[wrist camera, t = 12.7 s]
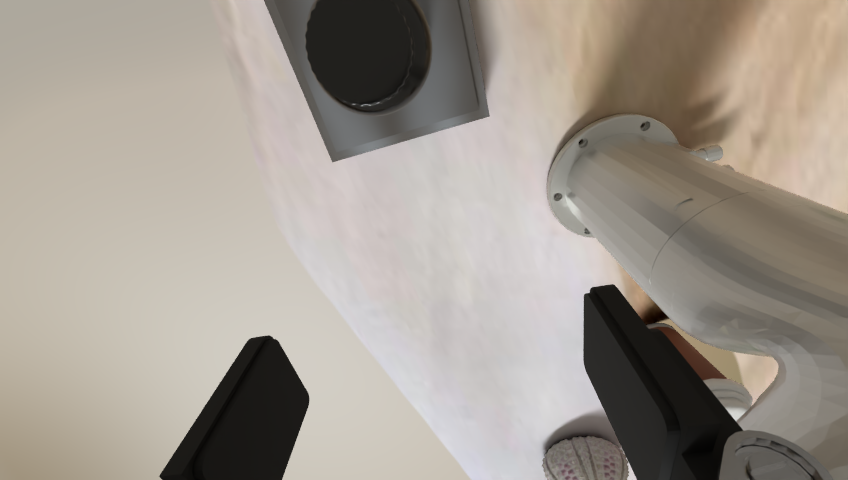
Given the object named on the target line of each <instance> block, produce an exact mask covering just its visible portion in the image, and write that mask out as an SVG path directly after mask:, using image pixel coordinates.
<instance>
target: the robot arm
mask: <svg viewBox="0 0 848 480" xmlns="http://www.w3.org/2000/svg"><path fill="white" fill-rule="evenodd" d="M641 124H642V125H641ZM581 139H582V142H581V143H579V141H580V140H581ZM722 156H723V150H722V148H721V147H720V146H719V145H713V146H709V147H706V148H702V149H700V150H697V151H694V150H692V149H689V148H686V147H683V146H681V145H679V143H678V140H677V138H676V137H675V135H674V134H673V132H672V131H671V130H670V129H669V128H668V127H667V126H666V125H664V124H663V123H661V122H659V121H657V120H655V119H653V118H651V117H647V116H644V115H638V114H618V115H613V116H609V117H606V118H602V119H600V120H598V121H596V122H594V123H592V124H589V125H588V126H586V127H585V128H583V129H582V130H581V131H579V132H578V133H576V134H575V135H574V136H573V137H572V138H571V139H570V140H569V141H568V142H567V143H566V144H565V146H564V147H563V148H562V149H561V151H560V152H559V153H558V155H557V157H556V159H555V161H554V162H553V164H552V167H551V170H550V173H549V176H548V182H547V199H548V202H549V206H550V209H551V210H552V212H553V214H554V216H555V217H556V218H557V219H558V221H559V222H560V223H561V224H562V225H563V226H564V227H565V228H567V229H568V230H570V231H571V232H573V233H575V234H577V235H581V236H584V237H590V238H596V239H597V240H598V241H599V242H600V243H601V244H602V246H603V247H604V248H605V249H606V250H607V251H608V252H609V253H610V254H611V255H612V256H613V257H614V259H615V260H616V261H617V262H618V263H619V264H620V265H621V266H622V267H623V268H624V269H625V271H626V272H627V273H628V274H629V275H630V276H631V277H632V278H633V279H634V280H635V281H636V283H637V284H638V285H639V286H640V287H641V288H642V289H643V290H644V291H645V292H646V293H647V295H648V296H649V297H650V298H651V299H652V300H653V301H654V302H655V303H656V304H657V305H658V306H659V307H660V309H661V310H662V311H663V312H664V313H665V314H666V315H667V316H668V317H669V318H670V319H671V320H672V321H673V322H674V323H675V324H676V325H677V326H678V327H679V328H681V329H682V330H683V331H685V332H686V333H687V334H689V335H690V336H692V337H694V338H696V339H697V340H699V341H701V342H703V343H706V344H708V345H711V346H714V347H717V348H720V349H724V350H728V351H733V352H737V353H744V354H751V355H758V356H767V357H773V358H774V359H775V360H776V361H777V363H778V366H779V368H778V374H777V376H776V378H775V379H774V381H773V382H772V383H771V384H770V386H769V387H768V388H767V389H766V390H765V391H764V392H763V393H762V394H761V395H760V396H759V398H758V399H757V401H756V402H755V403H754V404H753V405H752V406H751V407H750V408H749V409H748V410H747V411H746V412H745V413H744V414H743V415H742V416H741V417H740V418H739V419H738V420H737V421H735V419H734V418H733V417H732V416H731V415H730V413H729V412H728V411H727V410H726V408H725V407H724V406H723V405H722V404H721V402H720V401H719V400H718V399H717V397H716V396H715V395H714V394H713V392H712V391H711V390H710V389H709V388H708V386H707V385H706V384H705V383H704V381H703V380H702V379H701V378H700V376H699V375H698V374H697V373H696V372H695V370H694V369H693V368H692V367H691V365H690V364H689V363H688V362H687V361H686V359H685V358H684V357H683V356H682V354H681V353H680V352H679V351H678V349H677V348H676V347H675V346H674V345H673V343H672V342H671V341H670V340H669V338H668V337H667V336H666V335H665V334H664V333H663V332H662V331H661V330H659V329H649V328H648V327H647V326H646V325H645V323H644V322H643V321H642V319H641V318H640V317H639V316H638V314H637V313H636V312H635V310H634V309H633V308H632V306H631V305H630V304H629V303H628V301H627V300H626V299H625V297H624V296H623V295H622V293H621V292H620V291H619V290H618V288H617V287H616V286H615V285H613V284H612V285H605V286H598V287H592V288H591V289H590V293H587V294H585V295H584V365H585V369H586V372H587V374H588V376H589V378H590V381H591V383H592V385H593V387H594V389H595V391H596V393H597V395H598V398H599V400H600V402H601V404H602V406H603V408H604V410H605V412H606V415H607V417H608V419H609V421H610V423H611V425H612V427H613V429H614V431H615V434H616V436H617V438H618V440H619V442H620V444H621V446H622V448H623V451H624V453H625V455H626V457H627V459H628V461H629V463H630V465H631V468H632V470H633V472H634V474H635V476H636V478H637V480H848V214H846V213H843V212H841V211H838V210H835V209H833V208H830V207H827V206H825V205H822V204H819V203H817V202H814V201H812V200H809V199H806V198H804V197H801V196H799V195H796V194H793V193H790V192H788V191H785V190H782V189H780V188H777V187H775V186H772V185H770V184H767V183H764V182H762V181H759V180H757V179H754V178H752V177H749V176H746V175H744V174H741V173H739V172H736V171H734V169H733V168H732V167H731V166H730V165H723V166H721V165H718V164H716V163H713V161H717V160H720V159H721V158H722ZM556 193H557V194H556ZM555 194H556V195H555ZM554 195H555V196H554ZM308 405H309V395H308V392H307V391H306V389H305V387H304V385H303V384H302V382H301V380H300V378H299V377H298V375H297V373H296V371H295V370H294V368H293V366H292V364H291V363H290V361H289V359H288V357H287V356H286V354H285V352H284V350H283V349H282V347H281V346H280V344H279V342H278V341H277V340H276V339H273V337H271V336H262V337H256V338H251V339H249V340H248V341H247V343H246V344H245V346H244V347H243V349H242V350H241V352H240V353H239V355H238V357H237V358H236V359H235V361H234V363H233V364H232V366H231V367H230V369H229V370H228V372H227V373H226V375H225V376H224V378H223V380H222V381H221V382H220V384H219V385H218V387H217V389H216V390H215V392H214V393H213V395H212V396H211V398H210V400H209V401H208V402H207V404H206V405H205V407H204V409H203V410H202V412H201V413H200V415H199V416H198V418H197V419H196V421H195V422H194V424H193V425H192V427H191V428H190V430H189V431H188V433H187V434H186V436H185V438H184V439H183V441H182V442H181V444H180V445H179V447H178V448H177V450H176V451H175V453H174V454H173V456H172V458H171V459H170V461H169V462H168V464H167V465H166V467H165V468H164V470H163V471H162V473H161V474H160V478H161V479H162V480H282V478H283V475H284V472H285V469H286V467H287V464H288V461H289V458H290V455H291V453H292V450H293V447H294V444H295V441H296V439H297V436H298V433H299V431H300V428H301V425H302V422H303V419H304V417H305V414H306V411H307V408H308Z"/></svg>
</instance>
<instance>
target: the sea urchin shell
mask: <svg viewBox="0 0 848 480" xmlns="http://www.w3.org/2000/svg"><path fill="white" fill-rule="evenodd" d="M627 463H628V461H627V460H626V455H624V454H623V451H622V450H621V449H619V448H618V446H617V445H614V444H613V443H611V442H610V441H607V440H604V439H603V438H596V437H594V436H593V437H590V436H587V437H585V438H584V437H581V436H580V437H573V438H572V439H571V440H567V439H565V440H563V441H560V443H558V444H555V445H554V444H553V446H552V448H550V449H549V450H548V452H547V454H545V458H543V465H542V466H543V468H544V472H545V477H546V478H547V480H627V478H628V476H629V475H628V473H629V471H628V466H627Z"/></svg>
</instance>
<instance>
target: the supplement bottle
mask: <svg viewBox="0 0 848 480" xmlns="http://www.w3.org/2000/svg"><path fill="white" fill-rule="evenodd" d="M305 48H306V54H307V59H308V62H309V65H310V68H311V71H312V73H313V75H314V77H315V79H316V81H317V82H318V84H319V86H320V87H321V88H322V90H323V91H324V92H325V93H326V94H327V95H328V96H329V97H330V98H331V99H332V100H333V101H334V102H335V103H337V104H338V105H339V106H341V107H342V108H344V109H346V110H348V111H350V112H353V113H355V114H359V115H363V116H384V115H388V114H391V113H394V112H396V111H398V110H400V109H402V108H404V107H405V106H406V105H408V104H409V103H410V102H411V101H412V100H413V99H414V98H415V97H416V96H417V94H418V93H419V92H420V90H421V89H422V87H423V85H424V83H425V81H426V79H427V77H428V74H429V70H430V67H431V61H432V38H431V32H430V28H429V25H428V22H427V19H426V16H425V14H424V12H423V10H422V8H421V7H420V5H419V3H418V2H417V1H416V0H315V1H314V3H313V5H312V7H311V9H310V12H309V15H308V18H307V23H306V29H305Z"/></svg>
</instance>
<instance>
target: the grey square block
mask: <svg viewBox="0 0 848 480" xmlns="http://www.w3.org/2000/svg"><path fill="white" fill-rule="evenodd" d="M264 1H265V4H266V6H267V9H268V11H269V13H270V16H271V18H272V20H273V23H274V25H275V27H276V30H277V32H278V35H279V37H280V39H281V42H282V44H283V46H284V49H285V51H286V53H287V56H288V58H289V61H290V63H291V65H292V68H293V70H294V72H295V75H296V77H297V79H298V82H299V84H300V87H301V89H302V91H303V94H304V96H305V98H306V101H307V103H308V105H309V108H310V110H311V113H312V115H313V117H314V120H315V122H316V124H317V127H318V129H319V131H320V134H321V136H322V138H323V141H324V143H325V146H326V148H327V150H328V153H329V155H330V157H331V160H332V162H335V161H338V160H342V159H345V158H349V157H352V156H356V155H359V154H362V153H366V152H369V151H373V150H376V149H379V148H383V147H386V146H390V145H393V144H397V143H400V142H403V141H407V140H410V139H414V138H417V137H420V136H424V135H427V134H431V133H434V132H438V131H441V130H444V129H448V128H451V127H455V126H458V125H461V124H465V123H468V122H472V121H475V120H479V119H482V118H485V117H489V110H488V105H487V99H486V94H485V88H484V83H483V77H482V72H481V66H480V61H479V55H478V50H477V44H476V39H475V33H474V28H473V22H472V17H471V11H470V6H469V0H416V1H417V2H418V3H419V5H420V7H421V8H422V10H423V12H424V14H425V16H426V19H427V22H428V25H429V28H430V32H431V38H432V61H431V67H430V70H429V74H428V77H427V79H426V81H425V83H424V85H423V87H422V89H421V90H420V92H419V93H418V94H417V96H416V97H415V98H414V99H413V100H412V101H411V102H410V103H409V104H408V105H406V106H405V107H404V108H402V109H400V110H398V111H396V112H394V113H391V114H388V115H384V116H363V115H359V114H355V113H353V112H350V111H348V110H346V109H344V108H342V107H341V106H339V105H338V104H337V103H335V102H334V101H333V100H332V99H331V98H330V97H329V96H328V95H327V94H326V93H325V92H324V91H323V90H322V88H321V87H320V86H319V84H318V82H317V81H316V79H315V77H314V75H313V73H312V71H311V68H310V65H309V62H308V59H307V54H306V48H305V29H306V23H307V18H308V15H309V12H310V9H311V7H312V5H313V3H314V1H315V0H264Z"/></svg>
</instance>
